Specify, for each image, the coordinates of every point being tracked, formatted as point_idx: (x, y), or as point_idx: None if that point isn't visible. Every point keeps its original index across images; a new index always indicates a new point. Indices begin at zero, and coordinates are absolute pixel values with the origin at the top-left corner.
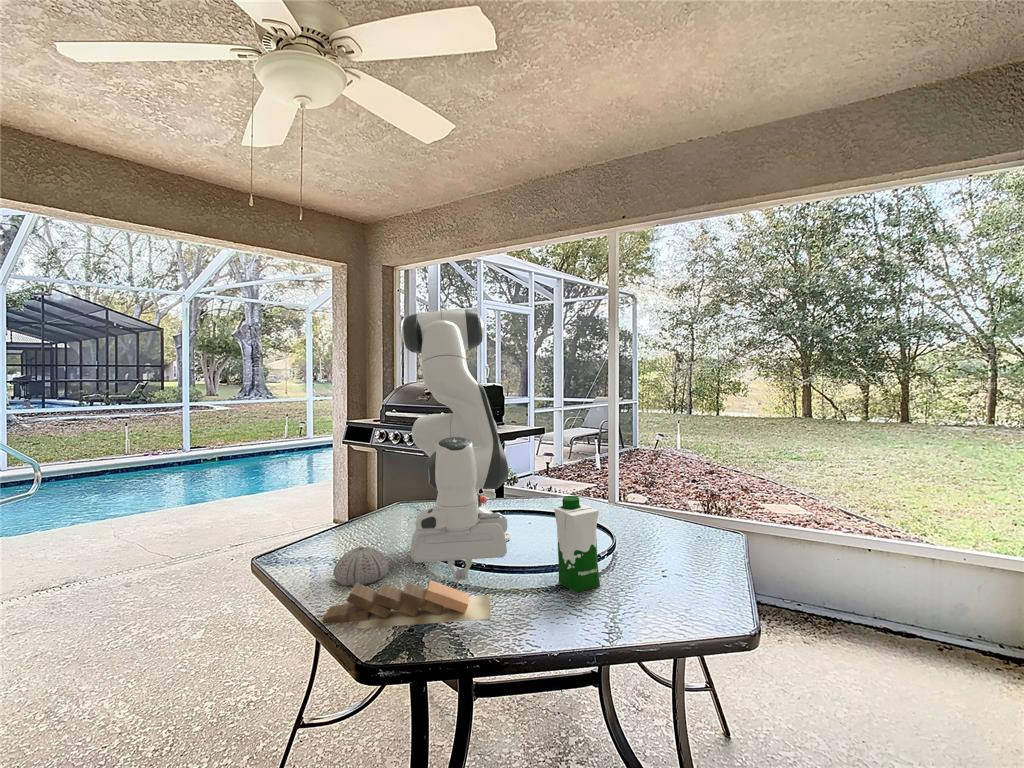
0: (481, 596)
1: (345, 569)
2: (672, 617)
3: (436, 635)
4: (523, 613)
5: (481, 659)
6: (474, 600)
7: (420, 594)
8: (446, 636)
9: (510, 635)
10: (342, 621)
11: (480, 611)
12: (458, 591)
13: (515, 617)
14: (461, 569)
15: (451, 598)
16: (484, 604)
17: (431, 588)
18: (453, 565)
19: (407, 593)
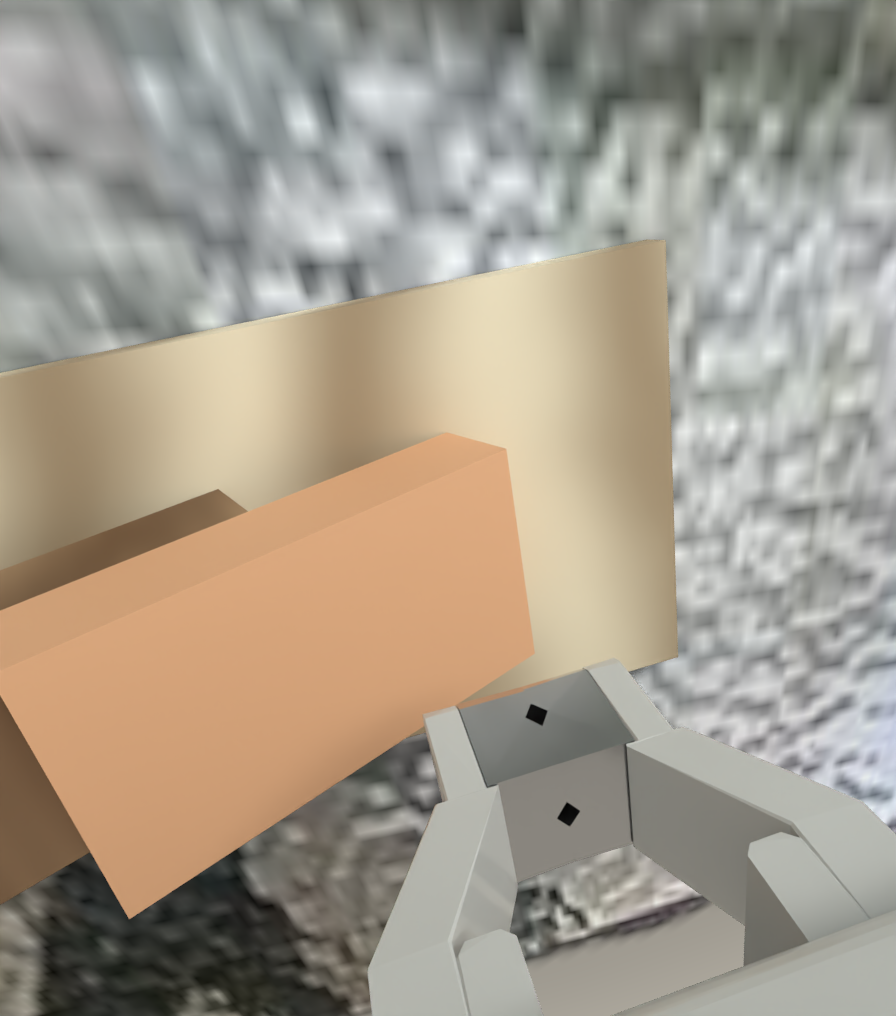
0: (584, 282)
1: None
2: None
3: (329, 833)
4: (880, 490)
5: (625, 935)
6: (525, 382)
7: (6, 813)
8: (399, 827)
9: (769, 741)
10: None
11: (599, 572)
12: (409, 519)
13: (821, 550)
14: (577, 764)
15: (397, 742)
16: (624, 453)
17: (141, 837)
18: (479, 924)
19: None
